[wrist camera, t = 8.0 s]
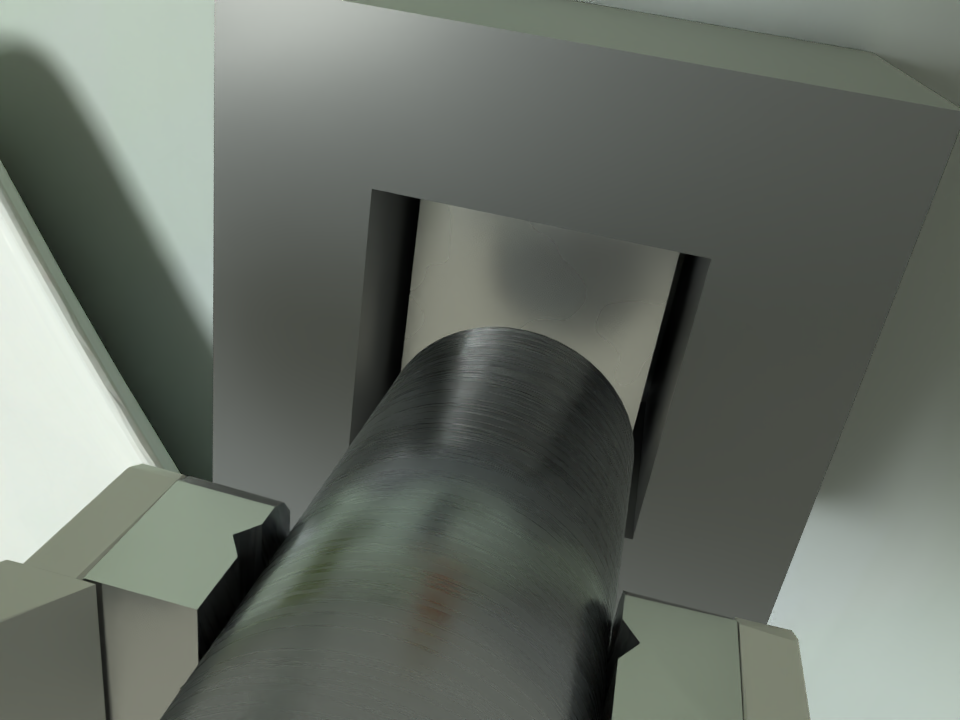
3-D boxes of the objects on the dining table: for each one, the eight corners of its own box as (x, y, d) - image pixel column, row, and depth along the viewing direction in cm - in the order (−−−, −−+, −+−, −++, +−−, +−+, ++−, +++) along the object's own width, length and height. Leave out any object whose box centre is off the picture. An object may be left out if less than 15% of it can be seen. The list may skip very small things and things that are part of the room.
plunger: (412, 383, 16) (396, 409, 15) (439, 169, 14) (422, 185, 13) (628, 433, 16) (624, 463, 15) (683, 219, 14) (683, 238, 13)
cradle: (333, 404, 21) (212, 563, 16) (367, -35, 16) (215, -23, 11) (723, 498, 20) (735, 703, 14) (870, 52, 15) (966, 112, 10)
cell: (396, 301, 11) (-123, 919, 4) (661, 360, 10) (589, 1172, 3) (374, 515, 12) (-32, 1232, 5) (605, 574, 12) (476, 1437, 5)
